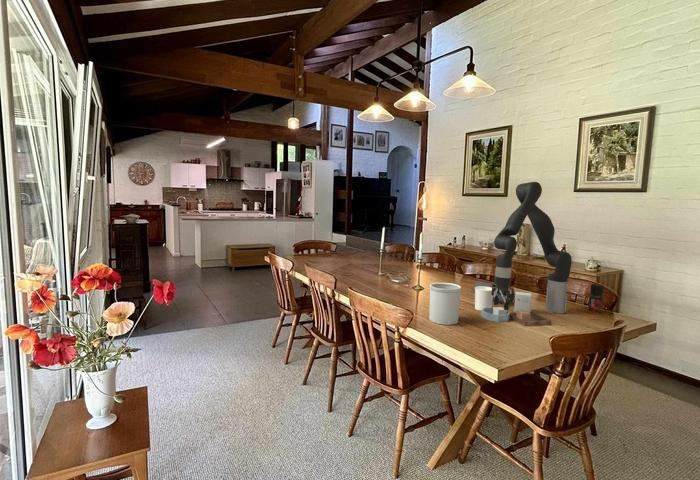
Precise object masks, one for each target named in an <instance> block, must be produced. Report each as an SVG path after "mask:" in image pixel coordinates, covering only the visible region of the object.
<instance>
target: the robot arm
mask: <svg viewBox="0 0 700 480" xmlns="http://www.w3.org/2000/svg"><path fill="white" fill-rule="evenodd" d="M542 192H543V187H542V185H541V183H540V182H538V181H530V182H524V183H520V184H518V185H516V188H515V195H516V197H517V200H518V201H519V204H520V205H519V206H518V207H517V208H516V209H515V210H514V211H513V212H512V213H511V214H510V216H509V218H508V219H507V221H506V223H505V225H504V227H503V228H502V229H500V231H499V233H498V234H497V235H496V237H495V238H494V241H493V246H494V247H495V248H496V249H497V250H502V251H505V252H504V254H497V257H496V262H495V266H496V267H495V271H494V284H493V283H491V284H492V292H491V295H493V297H494V302H493V305H494V306H498V305H499V303H498V301H499V298H498V297H499V296H502V298H503V299H504V303H503V308H504V310H507V311H508V310H509V308H510V304H511V303H510V302H512V303H513V302H514V300H513V289H512V290H509V289H510V288H509V287H510V286H511V285H512V271H513V270H512V262H513V258H514V255H515V252H516V249H517V246H518V241H517V239H516V237H514V236H517V235H518V234H519V233H520V231H521V229H522V226H523V224H524V222H525V219H526V218H527V217H528V219H529V221H530V223H531V226H532V228H533V230H534V233H535V235H536V237H537V238H538V241H539V243H540V246H541V248H542V251H543V254H544V258H545V259H546V262H547V263H548V266H551V268H555V269H554V272H553V273H549V274H548V276H547V284H546V294H545V295H546V298H545V307H544V309H545V310H546V311H548V312H550V313H553V314H564V313H567V312H566V311H567V306H568V305H567V304H568V294H567V287H568V279H569V277H570V275H571V269H572V256H571V254H570V253H569V252H567V251H562V250H559V249H558V248H557V247H556V244H555V241H554V237H555V231H556V230H555V227H554V224H553V222H552V219H551V217H550V216H549V215H548V214H547V213H546V212H545V211H543V210H542V209H540V208H539V207H538V206H537V204H536V203H537V202H538V200H539V199H540V197H542V196H541V195H542V194H543V193H542ZM508 288H509V289H508ZM494 291H495V292H494ZM506 295H507V296H506ZM506 298H507V300H506ZM509 298H510V299H509ZM509 303H510V304H509Z"/></svg>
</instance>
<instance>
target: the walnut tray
mask: <svg viewBox="0 0 700 480" xmlns="http://www.w3.org/2000/svg"><path fill="white" fill-rule="evenodd" d="M529 313H531V314H530V321H527V322H525V321H523V320H521V319H519V318H517V317H516V312H514V311H513V312H510V319H509V320H512V321H514V322H516V323H518V324H520V325H522V326H523V327H533V326H551V325H552V320H550V319H548V318H546V317H544V316H542V315H540V314H537V313H535V312H533V311H531V312H529Z"/></svg>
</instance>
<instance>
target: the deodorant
mask: <svg viewBox="0 0 700 480" xmlns="http://www.w3.org/2000/svg"><path fill="white" fill-rule="evenodd" d="M604 290H605V285H603V284H599V283H590V291H589V299H588V300H589V302H588V309H587V311H588V312H590V313H593V314H601V313H602V307H603V298H604Z"/></svg>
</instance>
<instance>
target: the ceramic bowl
mask: <svg viewBox="0 0 700 480" xmlns="http://www.w3.org/2000/svg"><path fill="white" fill-rule="evenodd" d="M493 308H494V306H492V307H488V308H483V309H482V310H481V311H480V317H481V318H482V319H485V320H487V321H492V322H496V323H501V322H502V323H503V322H509V320H511V319H510V313H511V312H510V311H508V310H507V313H506V315H495V314H493Z"/></svg>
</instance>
